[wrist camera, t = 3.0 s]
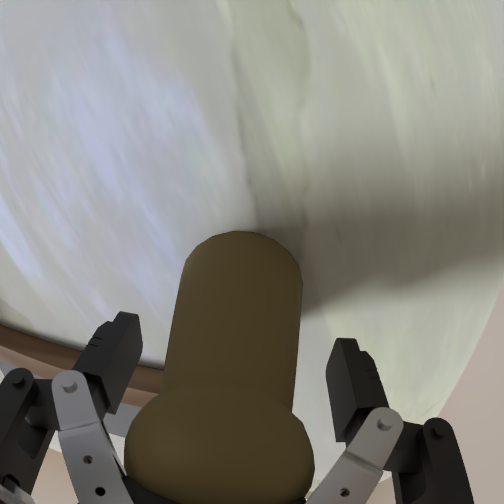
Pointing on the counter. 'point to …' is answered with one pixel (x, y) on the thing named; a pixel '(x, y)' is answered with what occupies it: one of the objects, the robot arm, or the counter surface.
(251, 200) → the counter surface
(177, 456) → the olive pawn-shaped piece
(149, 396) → the walnut rail
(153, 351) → the counter surface
